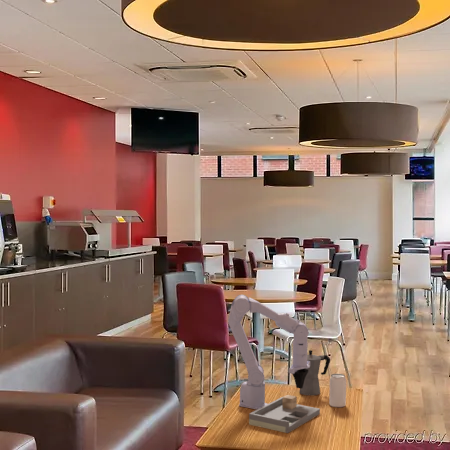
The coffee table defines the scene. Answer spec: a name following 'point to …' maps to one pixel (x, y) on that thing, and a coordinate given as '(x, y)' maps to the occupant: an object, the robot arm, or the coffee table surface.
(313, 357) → the coffeepot
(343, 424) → the coffee table surface
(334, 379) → the can
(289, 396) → the block
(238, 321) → the robot arm
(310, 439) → the coffee table surface
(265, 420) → the box
